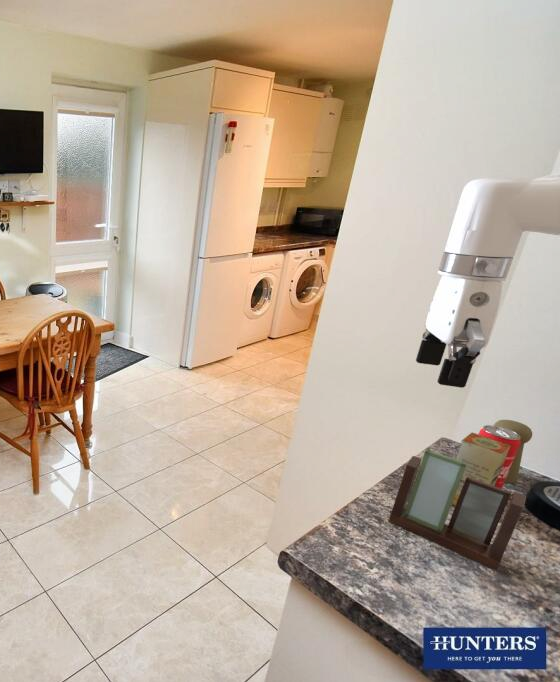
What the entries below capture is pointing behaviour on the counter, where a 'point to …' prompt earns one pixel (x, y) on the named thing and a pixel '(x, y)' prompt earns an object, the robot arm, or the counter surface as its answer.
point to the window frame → (466, 518)
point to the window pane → (434, 489)
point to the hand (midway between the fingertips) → (438, 373)
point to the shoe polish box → (481, 459)
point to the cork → (525, 436)
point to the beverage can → (507, 438)
